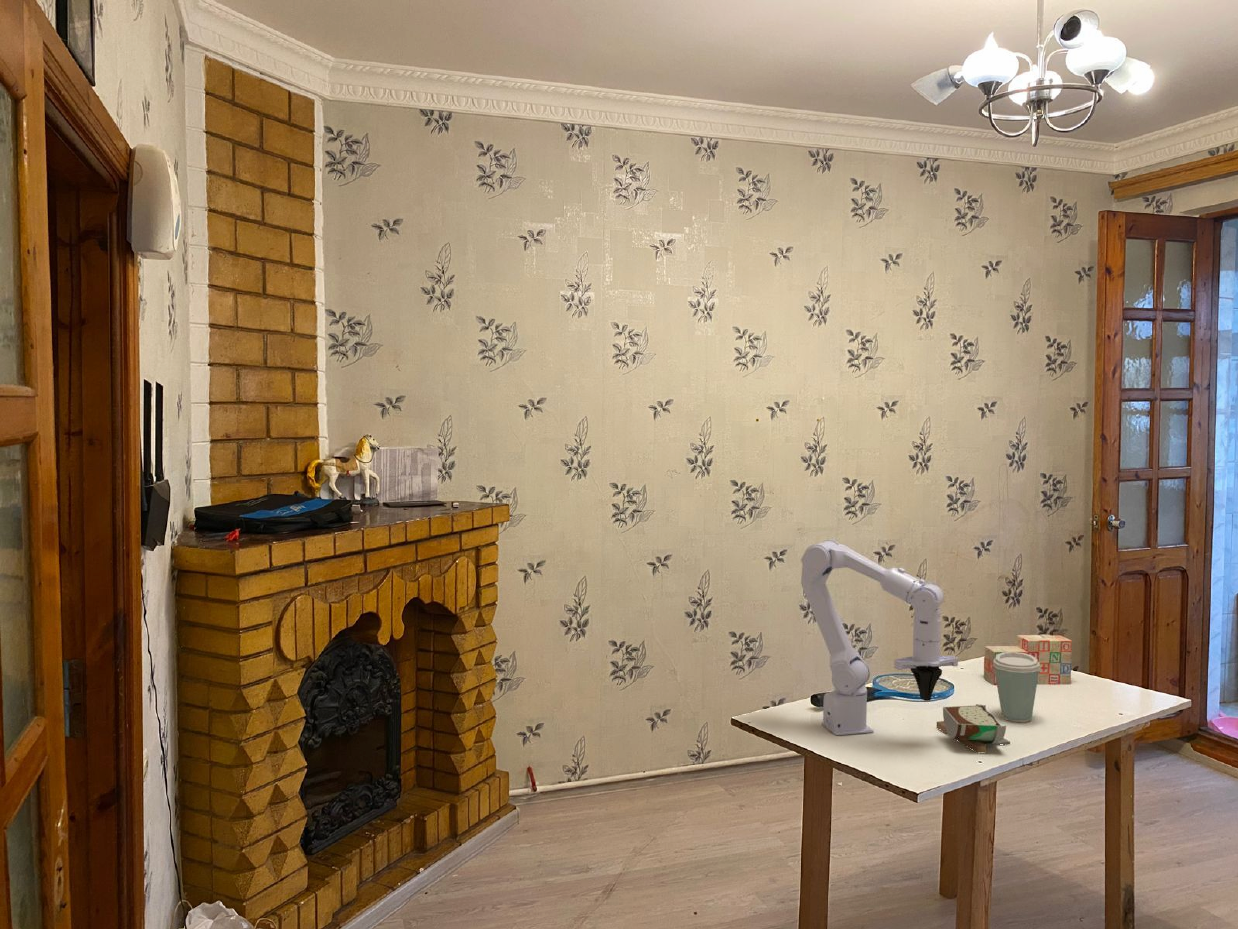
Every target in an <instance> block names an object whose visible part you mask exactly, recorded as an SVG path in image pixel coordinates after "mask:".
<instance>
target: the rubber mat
mask: <svg viewBox="0 0 1238 929" xmlns="http://www.w3.org/2000/svg"><path fill="white" fill-rule="evenodd" d="M977 741H979V740H977ZM979 742H980V743H982V744H984V745H985V746H988V747H994V746H993V745H999V746H1001V745H1000V744H1003V745H1002V746H1006V745H1005V744H1010V745H1011V741H1010V740H1008V739H1006V738H1005V737H1004V738H1003V739H1002V740H1001V741H999V742H998V743H994V744H988V743H986V742H985V741H979Z"/></svg>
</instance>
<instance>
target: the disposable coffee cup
mask: <svg viewBox="0 0 1238 929" xmlns="http://www.w3.org/2000/svg"><path fill="white" fill-rule="evenodd" d="M993 666H994V669H995V675H996V682H997V685H996V688H997V693H998V700H999V706H1000V711H1001V712H1000V713H1001V715H1002V718H1003V719H1005V720H1006V719H1007V720H1006V721H1010V722H1012V723H1013V722H1014V723H1028V722H1031V719H1032V717H1033V711H1034V706H1035V698H1036V694H1037V693H1036V692H1037V687H1038V685H1037V681H1038V674H1039V670H1040V663H1039V662H1038V660H1037V659H1036V658H1035V657H1033V656H1031V655H1028V654H1025V653H1017V652H1003V653H1000V654H998V655H996V658H995V659H994V661H993Z"/></svg>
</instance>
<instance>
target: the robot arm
mask: <svg viewBox="0 0 1238 929" xmlns="http://www.w3.org/2000/svg"><path fill="white" fill-rule="evenodd" d="M800 561H801V563H802V567H801V579H800V584H801V587H802V590H803V591H804V592H803V593H804V594H805V597H806V599H807V602H808V604H809V607H810V609H811V612H812V614H813V616H814V618H815V620H816V624H817V625H818V629H819V630H820V633H821V635H822V638H823V640H824V643H825V644H826V645H825V646H826V647H827V650H828V652H829V654H830V655H829V656H830V657H829V668H830V670H831V682H832V686H833V687H834V690H832V691H829V692H825V693H824V696H823V703H822V704H823V711H822V713H823V714H822V716H823V718H822V722H821V725H822V726H823V727H825V728H826V729H827V730H829V731H830V732H831V733H833V734H834V735H835V736H844V735H855V734H856V735H858V734H868V733H870V734H871V733H874V729H873V728H871V726H868V724H867V714H868V713H867V711H868V710H867V709H868V708H867V707H868V706H867V705H868V704H867V703H868V699H867V698H868V689H867V686H866V683H867V682H868V681H869V680H870V677H871V669H870V667H869V665H868V663H867V662H865V660H863V658H862V657H861V655H860V652H859V651H858V650H857V649H855V648H854V646H852V643H851V641H850V639H849V636H848V634H847V632H846V630H845V627H844V624H843V623H842V620H841V617H840V615H839V612H838V610H837V608H836V606H835V603H834V600H833V599H832V596H831V594H830V591H829V589H828V587H827V581H828V578H829V577H830V575H831V573H832V571H833V570H834V569H841V568H842V569H844V568H848V569H851V570H853V571H855V572H857V573H859V574H862V575H863V576H865V577H868V578H870V579H873V580H875V581H877V582H878V583H880V585H881V589H882V590H883V591H884V592H886V593H888V594H890V595H893V596H894V597H896V598H899V599H900V600H902V601H904V602H906V603H908V604H910V605H911V607H912V608H913V611H914V615H913V616H914V617H913V631H912V632H913V634H912V635H913V637H912V638H913V639H912V656H911V655H910V656H907V657H902V658H895V659H894V660H893V662H894V663H893V665H894V666H893V667H894V669H896V670H898V671H903V670H906V669H907V670H909V669H910V672H911V673H912V675H913V677H914V679H915V681H916V685H917V688H918V693H919V698H920V699H921V700H923V701H925V702H926V701H927V702H928V701H931V699H932V696H933V692H934V689H935V687H936V684H937V682H938V681H939V679H940V678H941V677H942V674H943V669H941V668H940V667H958V666H959V657H957V656H955V655H941V634H942V633H941V632H942V631H941V627H942V626H941V624H942V620H941V613H942V612H941V611H942V610H941V609H942V608H941V606H942V604H943V603H944V600H945V595H944V591H943V590H942V588H941V587H940V586H938V585H936V584H935V583H933V582H926V580H925V579H923V578H920V579H918V578H916V577H914V576H913V575H912V574H911V575H910V574H908V573H906V569H905V568H903V567H899V568H897V567H890V568H888V569H887V568H885V567H883V566H881V565H880V564H879V563H876V561H875V562H874V561H872V560H871V559H869V558H867V557H866V556H864V555H862V554H860V553H858V552H857V551H855V550H853V549H852V548H850V547H848V546H847V545H845V544H843V543H839V542H837V541H836V540H833V539H826V540H823V541H821V542H819V543H815V544H812V545H809V546H808V547H807V548H806V549H805V551H804V553H803V555H802V556H801V558H800ZM925 582H926V583H925Z"/></svg>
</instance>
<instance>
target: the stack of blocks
mask: <svg viewBox="0 0 1238 929" xmlns="http://www.w3.org/2000/svg"><path fill="white" fill-rule="evenodd" d="M1072 646H1073V641H1072V639H1069V638H1067V637H1065V636H1062V635H1060V634H1059V635H1058V634H1057V635H1056V634H1055V635H1052V634H1051V635H1050V634H1029V635H1028V634H1024V635H1023V634H1019V635H1018V634H1017V635H1016V645H985V646H984V658H983V679H984V680H986V681H987V682H989V684H992V685H993V686H997V682H996V675H995V669H994V666H993V661H994V659H995V658H996V655H998V654H1000V653H1003V652H1017V653H1025V654H1028V655H1031V656H1033V657H1035V658H1036V659H1037V660H1038V662H1039V663H1040V670H1039V674H1038V681H1037V686H1038V685H1043V686H1044V685H1047V686H1049V685H1052V686H1053V685H1059V686H1061V685H1063V686H1064V685H1065V686H1066V685H1071V683H1072V682H1071V681H1072V680H1071V679H1072V678H1071V677H1072V662H1073V661H1072V658H1073V652H1072V650H1073V649H1072Z"/></svg>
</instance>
